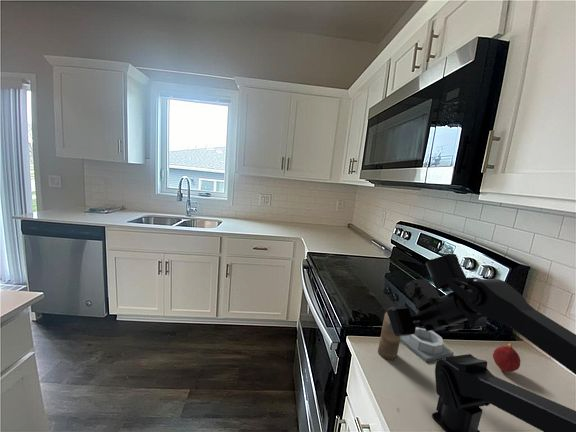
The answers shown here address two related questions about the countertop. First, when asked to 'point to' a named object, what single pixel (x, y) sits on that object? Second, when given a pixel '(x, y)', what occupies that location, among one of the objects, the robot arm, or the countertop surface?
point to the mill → (388, 341)
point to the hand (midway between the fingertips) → (404, 327)
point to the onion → (506, 358)
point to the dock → (426, 355)
